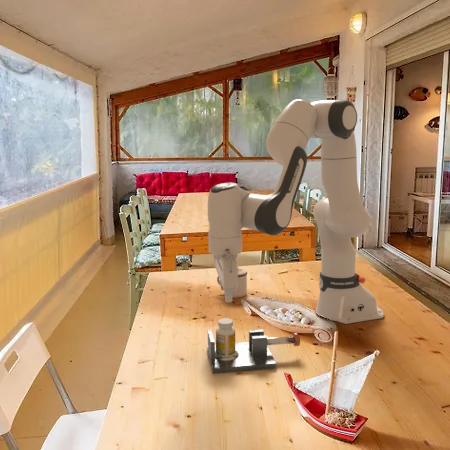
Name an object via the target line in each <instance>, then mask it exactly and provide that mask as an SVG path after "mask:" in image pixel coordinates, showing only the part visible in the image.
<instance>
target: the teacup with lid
mask: <svg viewBox="0 0 450 450" xmlns="http://www.w3.org/2000/svg"><path fill="white" fill-rule="evenodd" d="M237 271H238V288H237V289H236V290H233V295H232V299H233V298H234V299H235V298H243V297H245V296H246V295H247V293H248V285H247V284H248V280H247V279H248V276H247V275H248V271H247V270H246V268H242V267H240V266H239V264H237ZM216 282H217V284H218V285H219V286H220V278H219V276H218V275H217V277H216ZM223 294H224V295H225V290H223Z"/></svg>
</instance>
